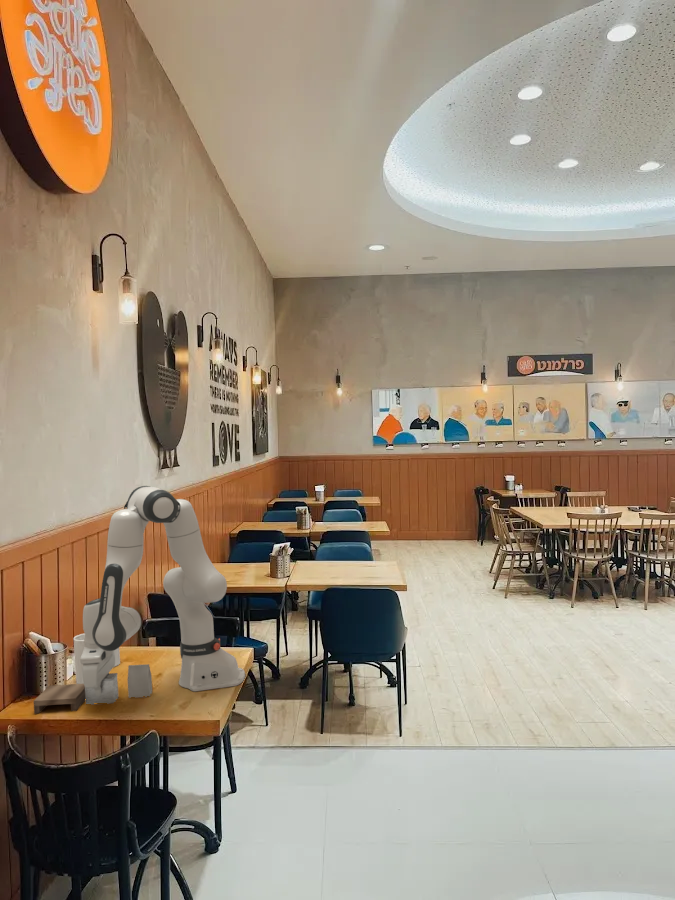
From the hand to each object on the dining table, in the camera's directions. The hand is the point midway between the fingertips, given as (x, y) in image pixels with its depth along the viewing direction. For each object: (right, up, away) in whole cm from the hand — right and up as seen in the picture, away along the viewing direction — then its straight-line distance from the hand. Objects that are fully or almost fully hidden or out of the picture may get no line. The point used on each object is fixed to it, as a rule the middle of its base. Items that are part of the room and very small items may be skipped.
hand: (101, 690), depth 208 cm
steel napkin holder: (0, -3, 0) cm, 3 cm away
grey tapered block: (+12, -3, +4) cm, 12 cm away
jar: (-10, -3, +33) cm, 34 cm away
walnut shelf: (-12, -4, -1) cm, 13 cm away
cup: (-11, -3, +18) cm, 21 cm away
